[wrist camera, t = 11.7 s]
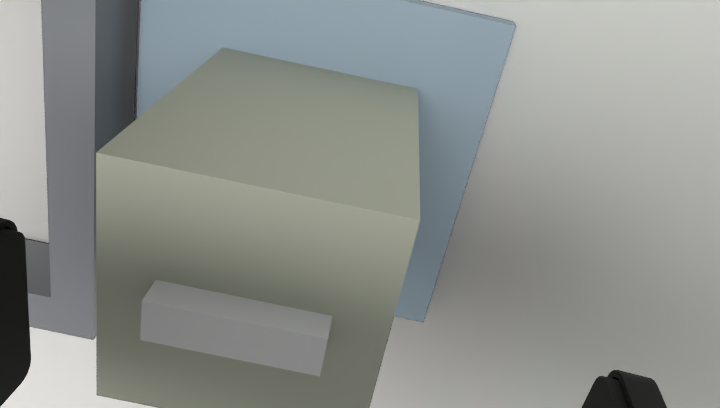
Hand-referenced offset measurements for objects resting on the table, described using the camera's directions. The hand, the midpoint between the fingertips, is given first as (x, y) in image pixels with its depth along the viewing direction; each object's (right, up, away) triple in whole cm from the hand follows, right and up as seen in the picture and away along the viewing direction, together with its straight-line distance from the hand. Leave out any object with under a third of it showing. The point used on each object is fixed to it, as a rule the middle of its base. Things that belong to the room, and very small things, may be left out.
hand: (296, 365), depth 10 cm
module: (0, +4, +7) cm, 8 cm away
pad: (-1, +4, +7) cm, 8 cm away
